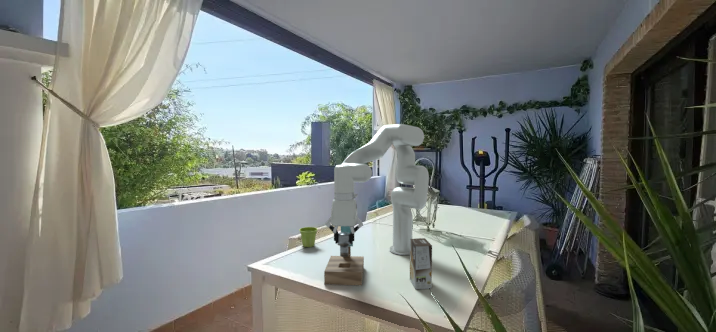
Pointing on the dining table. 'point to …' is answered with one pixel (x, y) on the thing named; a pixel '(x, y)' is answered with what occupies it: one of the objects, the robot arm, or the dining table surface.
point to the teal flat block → (346, 230)
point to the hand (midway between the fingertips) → (344, 242)
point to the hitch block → (344, 270)
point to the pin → (344, 243)
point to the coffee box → (421, 263)
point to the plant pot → (308, 236)
